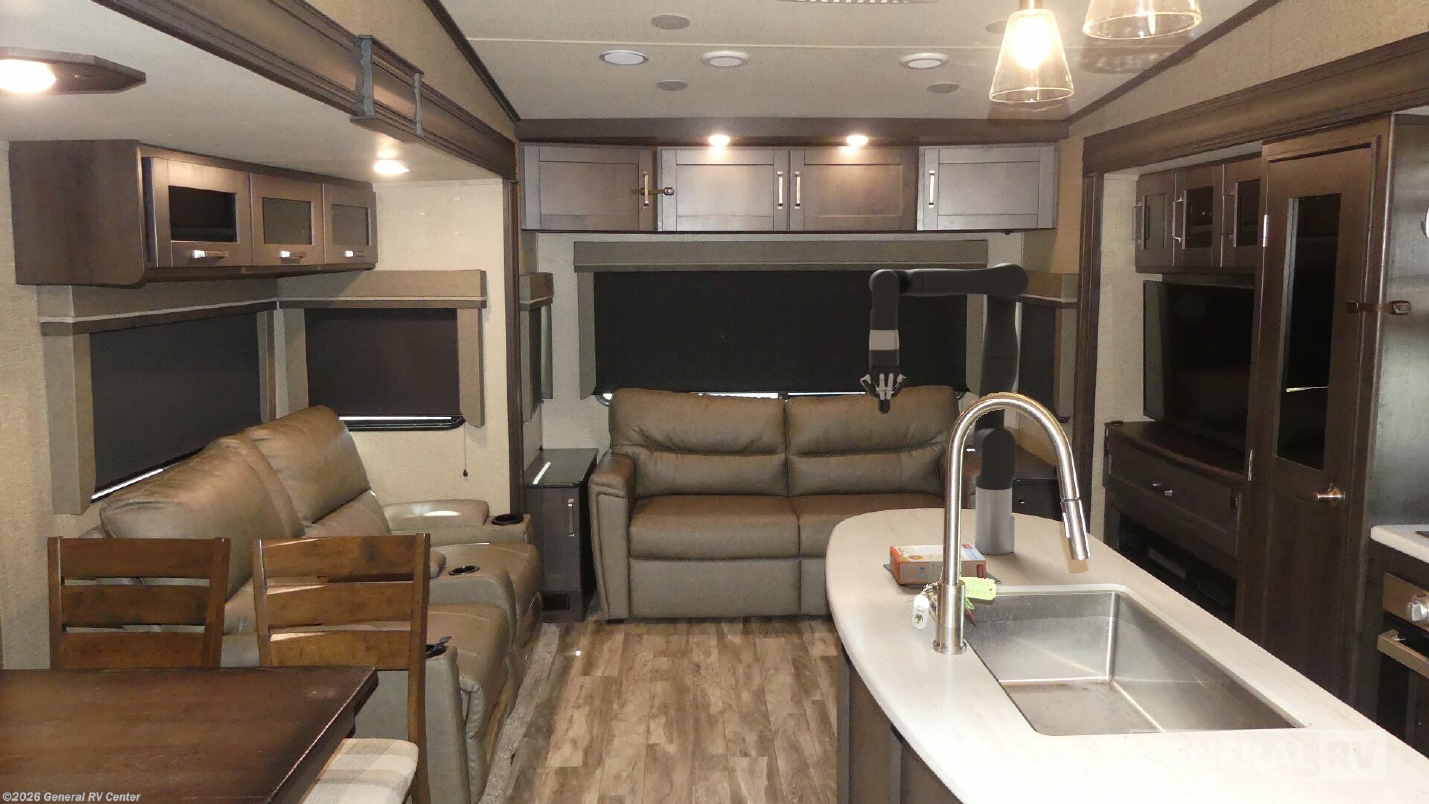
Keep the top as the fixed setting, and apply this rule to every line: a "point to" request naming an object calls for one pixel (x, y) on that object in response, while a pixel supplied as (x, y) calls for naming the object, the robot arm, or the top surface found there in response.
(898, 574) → the cracker box
